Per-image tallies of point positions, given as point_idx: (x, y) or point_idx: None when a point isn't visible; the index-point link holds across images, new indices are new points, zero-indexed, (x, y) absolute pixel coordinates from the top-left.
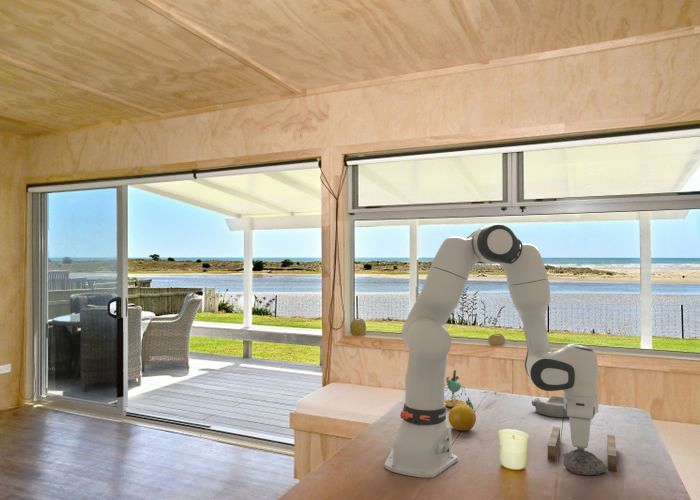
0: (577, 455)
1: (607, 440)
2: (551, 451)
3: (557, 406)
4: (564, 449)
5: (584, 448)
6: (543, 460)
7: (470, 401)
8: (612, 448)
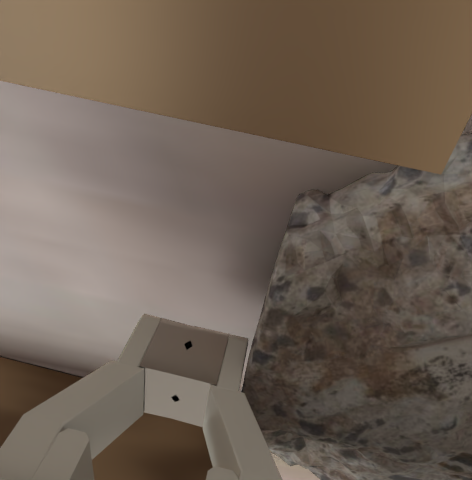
0: (436, 472)
1: None
2: None
3: None
4: (11, 333)
5: (248, 406)
6: (277, 465)
7: None
8: None
